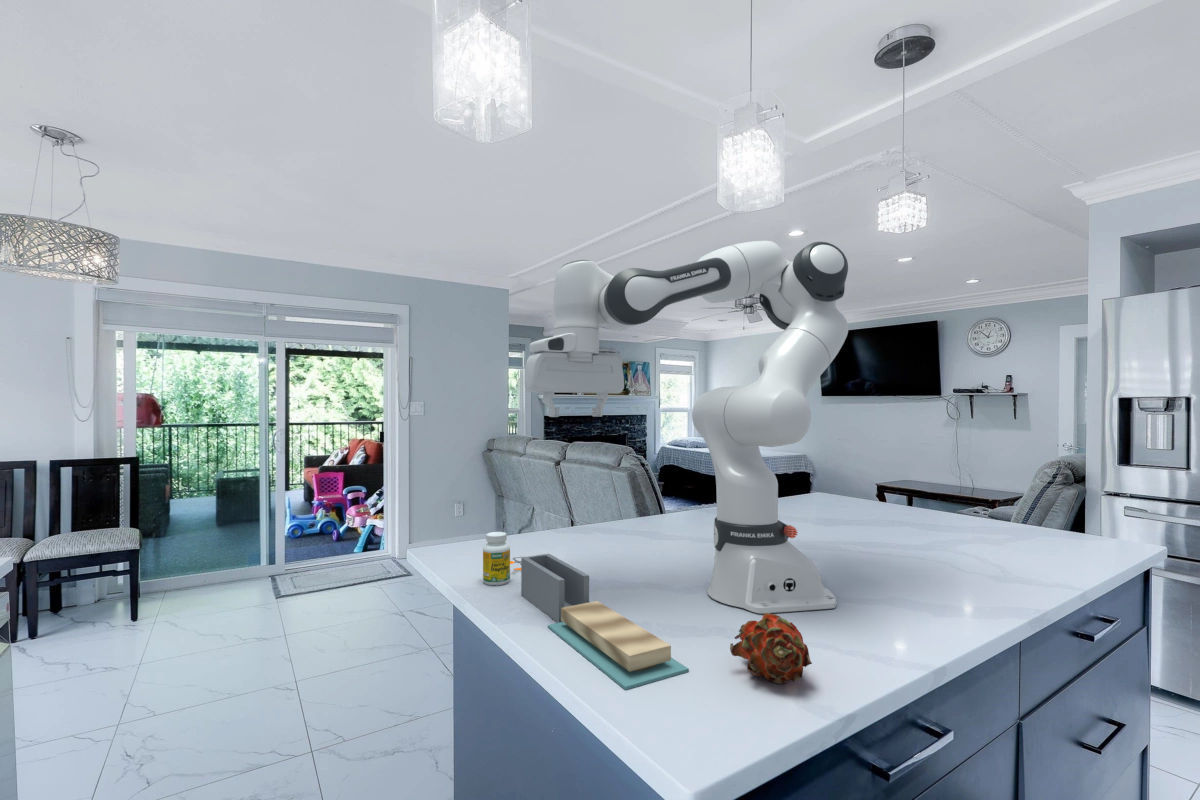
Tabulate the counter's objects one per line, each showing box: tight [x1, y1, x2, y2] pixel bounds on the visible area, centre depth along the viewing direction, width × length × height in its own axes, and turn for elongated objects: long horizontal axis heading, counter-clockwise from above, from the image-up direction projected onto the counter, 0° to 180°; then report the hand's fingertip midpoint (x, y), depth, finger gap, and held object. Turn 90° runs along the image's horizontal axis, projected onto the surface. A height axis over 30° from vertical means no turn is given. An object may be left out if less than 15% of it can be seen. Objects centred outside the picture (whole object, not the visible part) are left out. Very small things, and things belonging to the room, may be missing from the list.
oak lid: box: [561, 600, 672, 672], centre depth 84 cm, size 20×7×3 cm, turn 30°
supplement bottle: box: [482, 531, 511, 586], centre depth 115 cm, size 5×5×10 cm
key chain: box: [510, 556, 522, 575], centre depth 127 cm, size 13×7×1 cm, turn 19°
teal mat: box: [547, 622, 690, 691], centre depth 84 cm, size 23×10×1 cm, turn 30°
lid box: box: [520, 553, 590, 623], centre depth 101 cm, size 16×6×7 cm, turn 30°
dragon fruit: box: [729, 613, 813, 685], centre depth 76 cm, size 8×8×12 cm
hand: (576, 416), depth 111 cm, fingers open, 8 cm apart
